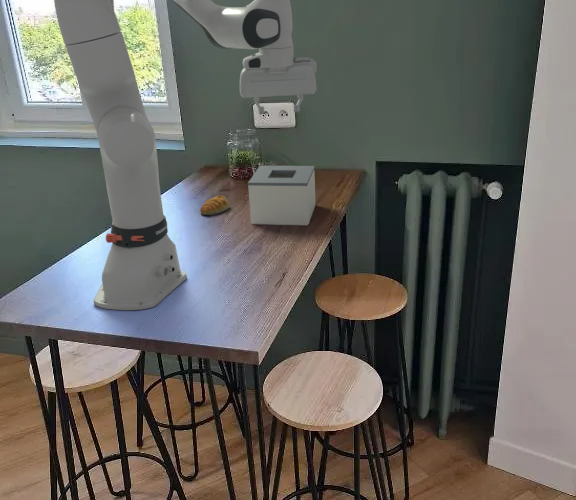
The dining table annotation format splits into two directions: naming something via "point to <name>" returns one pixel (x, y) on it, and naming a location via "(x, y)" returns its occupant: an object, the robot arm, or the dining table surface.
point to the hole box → (282, 195)
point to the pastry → (215, 205)
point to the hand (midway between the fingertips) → (279, 112)
